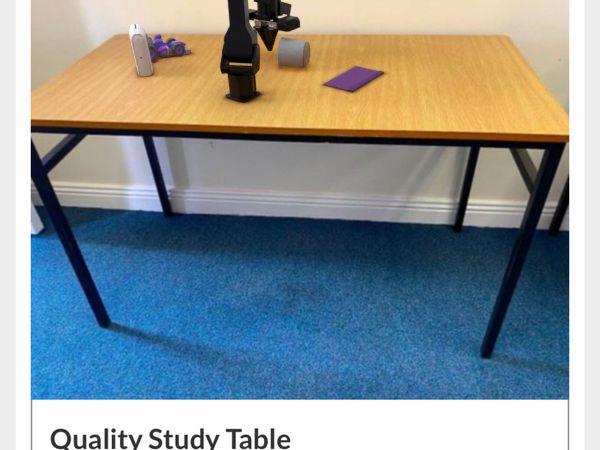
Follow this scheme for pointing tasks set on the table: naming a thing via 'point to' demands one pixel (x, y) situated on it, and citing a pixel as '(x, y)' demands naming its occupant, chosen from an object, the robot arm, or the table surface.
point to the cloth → (353, 79)
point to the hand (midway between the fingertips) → (270, 51)
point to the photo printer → (140, 50)
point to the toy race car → (165, 47)
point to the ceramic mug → (293, 53)
